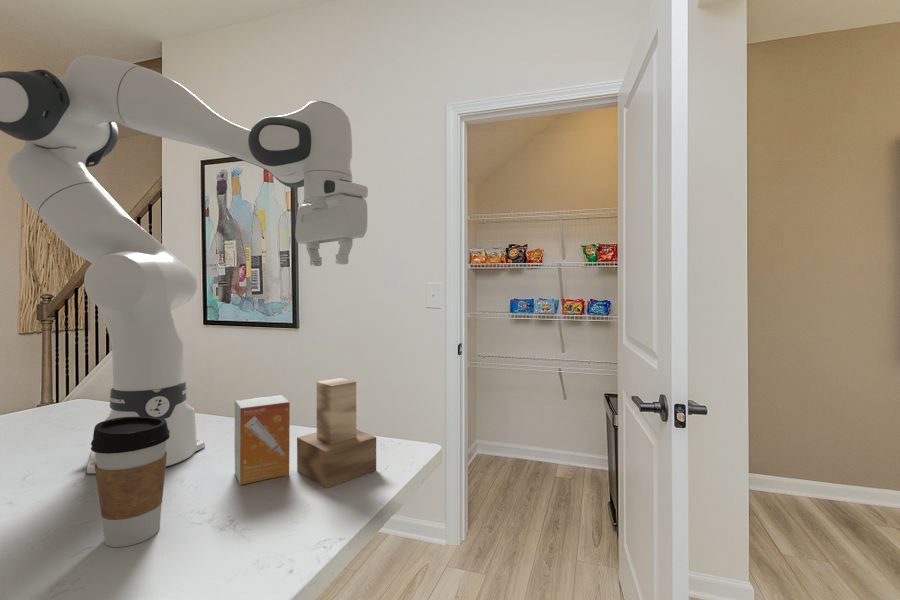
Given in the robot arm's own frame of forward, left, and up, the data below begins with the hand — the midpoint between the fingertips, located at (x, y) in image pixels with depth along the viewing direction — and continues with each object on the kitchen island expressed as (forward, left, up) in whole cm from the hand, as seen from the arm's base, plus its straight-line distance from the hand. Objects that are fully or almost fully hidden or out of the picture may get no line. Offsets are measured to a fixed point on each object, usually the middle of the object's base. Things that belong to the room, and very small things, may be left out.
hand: (328, 265), depth 84 cm
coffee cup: (+5, -32, -37) cm, 49 cm away
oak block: (+6, -2, -31) cm, 32 cm away
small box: (-2, -12, -37) cm, 39 cm away
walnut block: (+6, -2, -37) cm, 38 cm away
